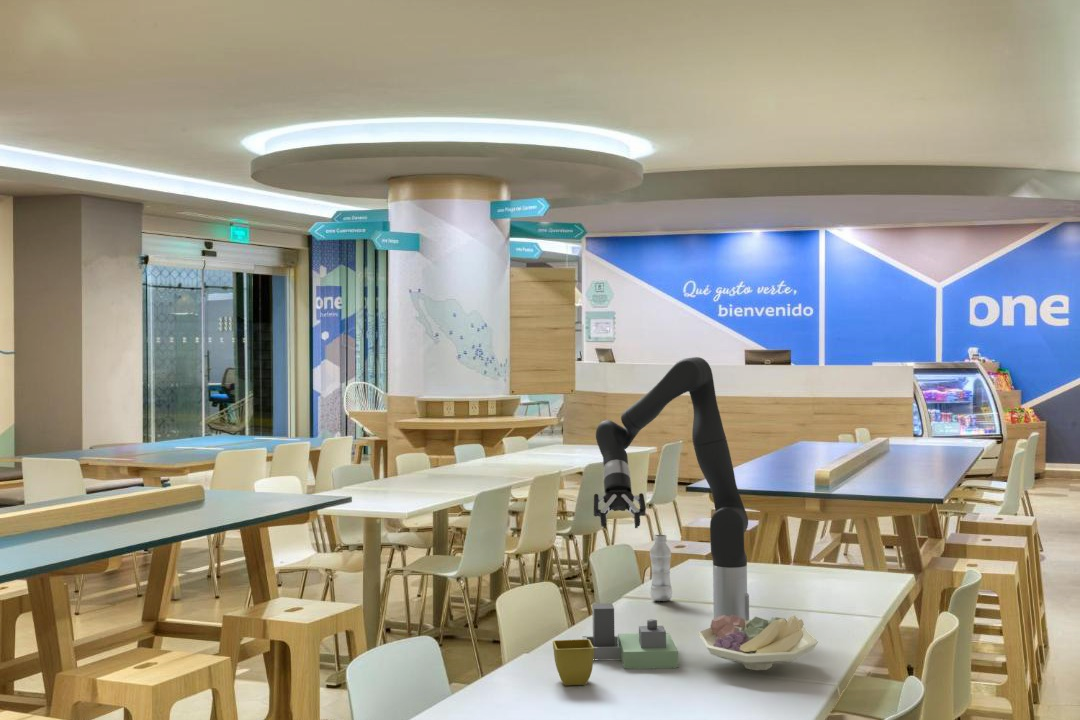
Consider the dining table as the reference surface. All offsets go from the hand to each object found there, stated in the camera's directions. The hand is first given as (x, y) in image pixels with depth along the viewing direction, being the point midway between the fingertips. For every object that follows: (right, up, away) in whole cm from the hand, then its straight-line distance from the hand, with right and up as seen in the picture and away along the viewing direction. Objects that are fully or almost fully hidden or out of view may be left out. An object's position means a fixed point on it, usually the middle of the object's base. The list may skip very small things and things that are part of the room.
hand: (620, 526), depth 306 cm
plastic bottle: (+15, -29, +39) cm, 50 cm away
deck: (0, -29, -26) cm, 38 cm away
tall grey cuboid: (-6, -29, -22) cm, 36 cm away
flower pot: (-14, -29, -47) cm, 57 cm away
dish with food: (+30, -28, -36) cm, 55 cm away
